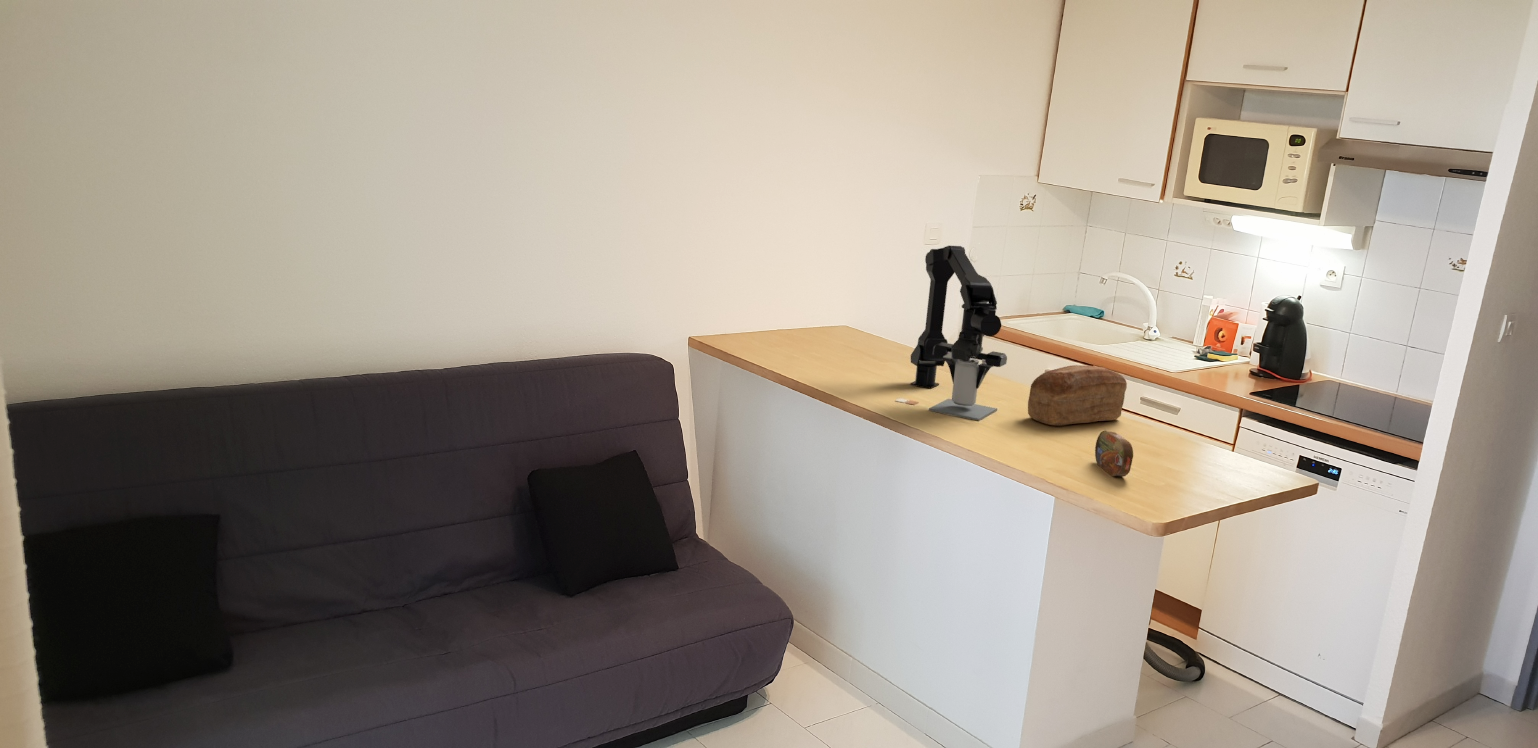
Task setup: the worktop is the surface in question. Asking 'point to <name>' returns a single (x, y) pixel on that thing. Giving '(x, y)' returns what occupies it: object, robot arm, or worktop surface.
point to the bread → (1076, 395)
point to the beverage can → (965, 382)
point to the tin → (1113, 453)
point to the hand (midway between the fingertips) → (965, 386)
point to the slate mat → (963, 410)
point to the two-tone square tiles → (906, 401)
